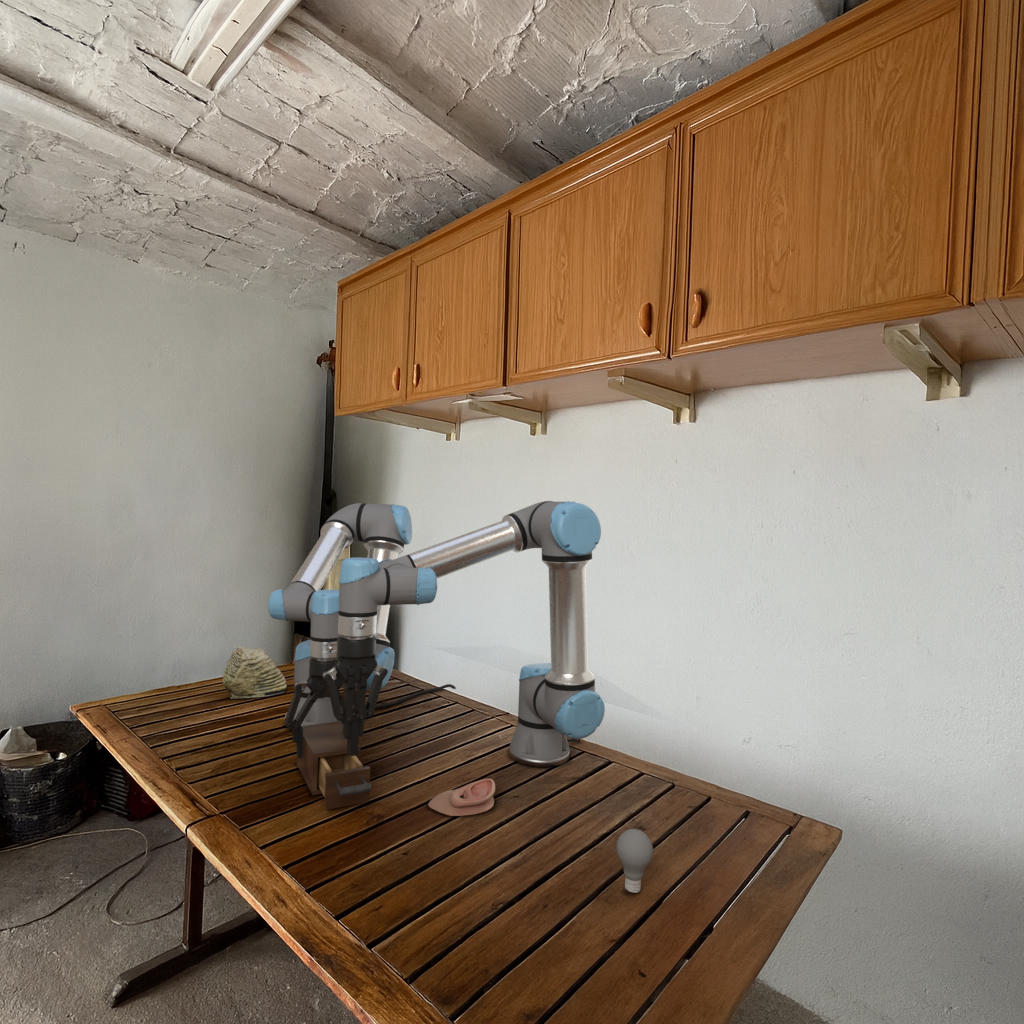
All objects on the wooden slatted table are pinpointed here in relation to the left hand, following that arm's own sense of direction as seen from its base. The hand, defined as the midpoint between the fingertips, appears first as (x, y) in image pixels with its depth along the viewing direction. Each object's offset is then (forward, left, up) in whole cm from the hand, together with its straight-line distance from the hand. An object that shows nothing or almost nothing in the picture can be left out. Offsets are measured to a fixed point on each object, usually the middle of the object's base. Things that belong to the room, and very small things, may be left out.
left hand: (322, 751), depth 148 cm
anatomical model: (-10, +36, -4) cm, 37 cm away
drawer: (+6, +16, -3) cm, 17 cm away
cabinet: (+2, +4, -4) cm, 6 cm away
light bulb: (-7, +77, -4) cm, 77 cm away
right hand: (+9, +22, +9) cm, 26 cm away
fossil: (-17, -60, -4) cm, 62 cm away
